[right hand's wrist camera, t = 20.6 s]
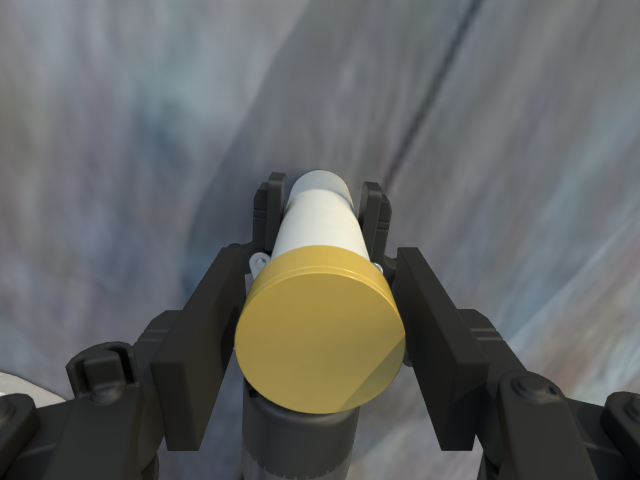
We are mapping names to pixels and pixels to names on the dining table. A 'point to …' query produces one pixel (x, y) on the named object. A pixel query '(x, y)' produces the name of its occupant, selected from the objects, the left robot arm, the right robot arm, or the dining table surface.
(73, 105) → the dining table surface
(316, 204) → the white cylinder
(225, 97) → the dining table surface
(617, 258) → the dining table surface
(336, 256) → the lid
